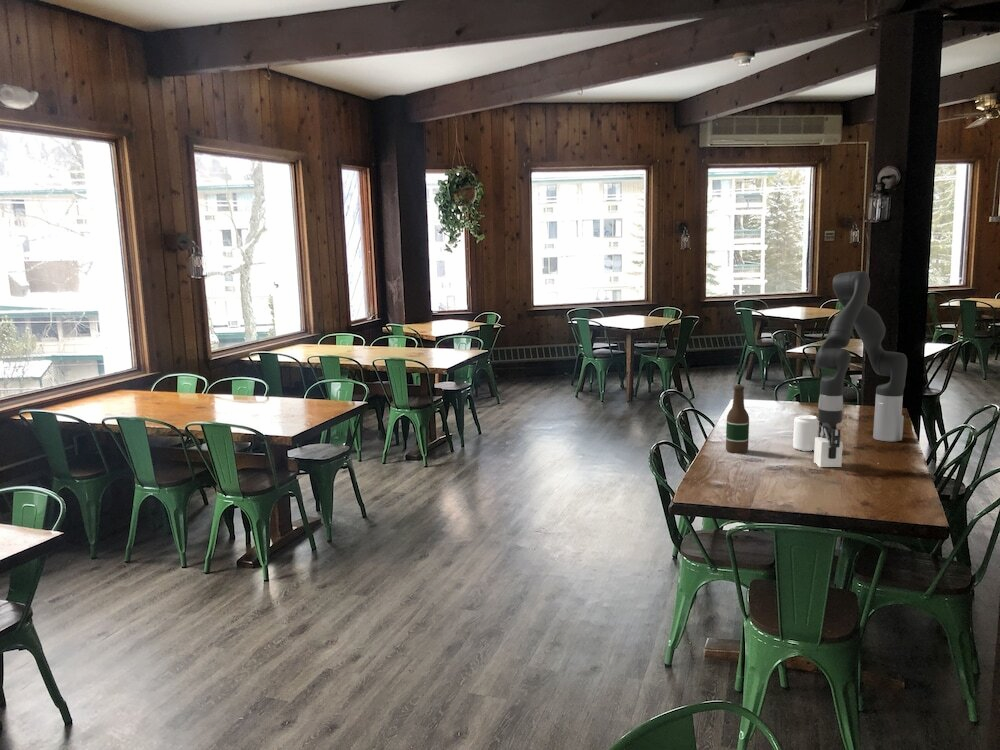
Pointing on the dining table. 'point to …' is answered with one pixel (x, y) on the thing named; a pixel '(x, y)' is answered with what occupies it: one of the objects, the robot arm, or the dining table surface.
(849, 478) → the dining table surface
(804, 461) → the dining table surface
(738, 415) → the beer bottle
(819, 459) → the white matte cube
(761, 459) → the dining table surface
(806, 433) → the beverage can
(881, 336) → the robot arm
